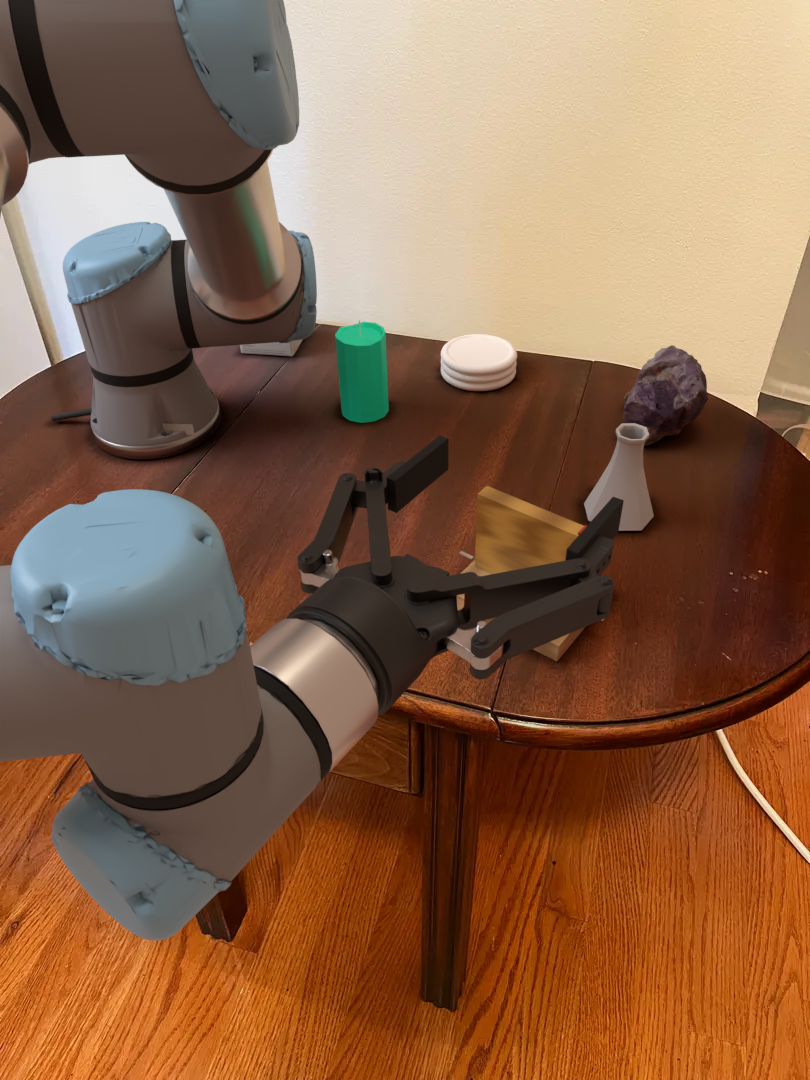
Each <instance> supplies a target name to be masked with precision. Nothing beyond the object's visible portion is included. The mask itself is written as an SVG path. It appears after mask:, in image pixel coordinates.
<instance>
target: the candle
mask: <svg viewBox="0 0 810 1080" xmlns="http://www.w3.org/2000/svg"><path fill="white" fill-rule="evenodd" d="M386 333H387V332H386V329H385V327H383V326H382V325H380V324H378V323H377V322H373V321H371V322H370V321H362V322H361V320H360V319H359V320H358V323H355V324H352V325H344V326H340V327H339V328H338V329H337V331H336V332H335V334H334V339H335V350H336V363H337V373H338V374H337V375H338V384H339V396H340V397H339V398H340V409H341V414H342V415H341V416H342V417H344V418H345V419H347V420H348V421H350V422H355V423H361V424H363V423H373V422H376V421H379V420H381V419H383V418H385V417H386V416H387V414H388V413H389V412H390V405H389V381H388V379H389V378H388V359H387V357H388V355H387V334H386Z"/></svg>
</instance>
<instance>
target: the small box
mask: <svg viewBox="0 0 810 1080" xmlns="http://www.w3.org/2000/svg"><path fill="white" fill-rule="evenodd" d="M303 341H304V339H301V340H295V341H291V342H289V343H279V342H273V343H259V344H245V345H239V349H240V353H241V354H247V355H248V354H249V355H262V356H263V355H265V356H282V357H294V355H295V354H296V352H297V350H298V349H299V347H300V345H301V344H302V342H303Z"/></svg>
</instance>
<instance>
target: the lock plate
mask: <svg viewBox="0 0 810 1080" xmlns="http://www.w3.org/2000/svg"><path fill="white" fill-rule="evenodd" d="M459 555H461V556H463V557H465V558H466V559H468V560H469V559H470V560H473V559H474V560H473V561H472V562H470V564H468V566H466V568H465V569H463V570H462V571H461V572H460V573H459V574H461V573H467V572H474V573H476V574H477V575H478V576H485V575H490V574H492V573H490V572H488V571H485V570H483V569H481V568H479V567H477V566H475V555H474V556H473V555H471V554H469V553H467V552H465V551H464V550H463V551H462V550H461V551H460V552H459ZM463 607H464V594H461V595H457V609H458V610H461V609H462V608H463ZM493 619H494V618H491V619H486V620H484V622H486V623H489V622H490V621H491V620H493ZM600 621H601V622H603V621H605V619H602V620H600ZM585 628H586V627H584V628H581V629H579V630H577V631H574V632H572V633H569V634H567V635H565V636H562V637H560V638H558V639H555V640H553V641H551V642H548V643H546V644H544V645H541V646H539V647H536V648H534V649H532V650H533V651H535V652H537V653H539V654H541V655H543V656H545V657H547V658H549V659H551V660H553V661H555V662H558V661H559V660H560V659H561V657H562V656H563V655H564V654H565V653H566V652H567V650H568V649H569V648H570V646H571V645H572V644H573V643H574V642H575V641H576V639H577V638H578V637H579V636H580V634H582V632H583V631H584V629H585Z"/></svg>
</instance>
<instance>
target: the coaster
mask: <svg viewBox="0 0 810 1080" xmlns="http://www.w3.org/2000/svg"><path fill="white" fill-rule="evenodd" d="M517 359H518V351H517V349H516V347H515V346H514V345H513V344H512V342H510V341H508V340H507V339H504V338H503V337H501V336H497V335H493V334H485V333H472V334H464V335H460V336H457V337H454V338H452V339H450V340H448V341H447V342H446V343H444V345H443V346H442V348H441V350H440V374H441V376H442V378H443V380H444V381H445V382H447V383H448V384H449V385H451V386H452V387H454V388H457V389H459V390H465V391H469V392H488V391H494V390H498V389H500V388H503V387H505V386H507V385H508V384H510V383H511V382H512V381H513V380H514V379H515V377H516V374H517V365H518V363H517Z"/></svg>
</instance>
